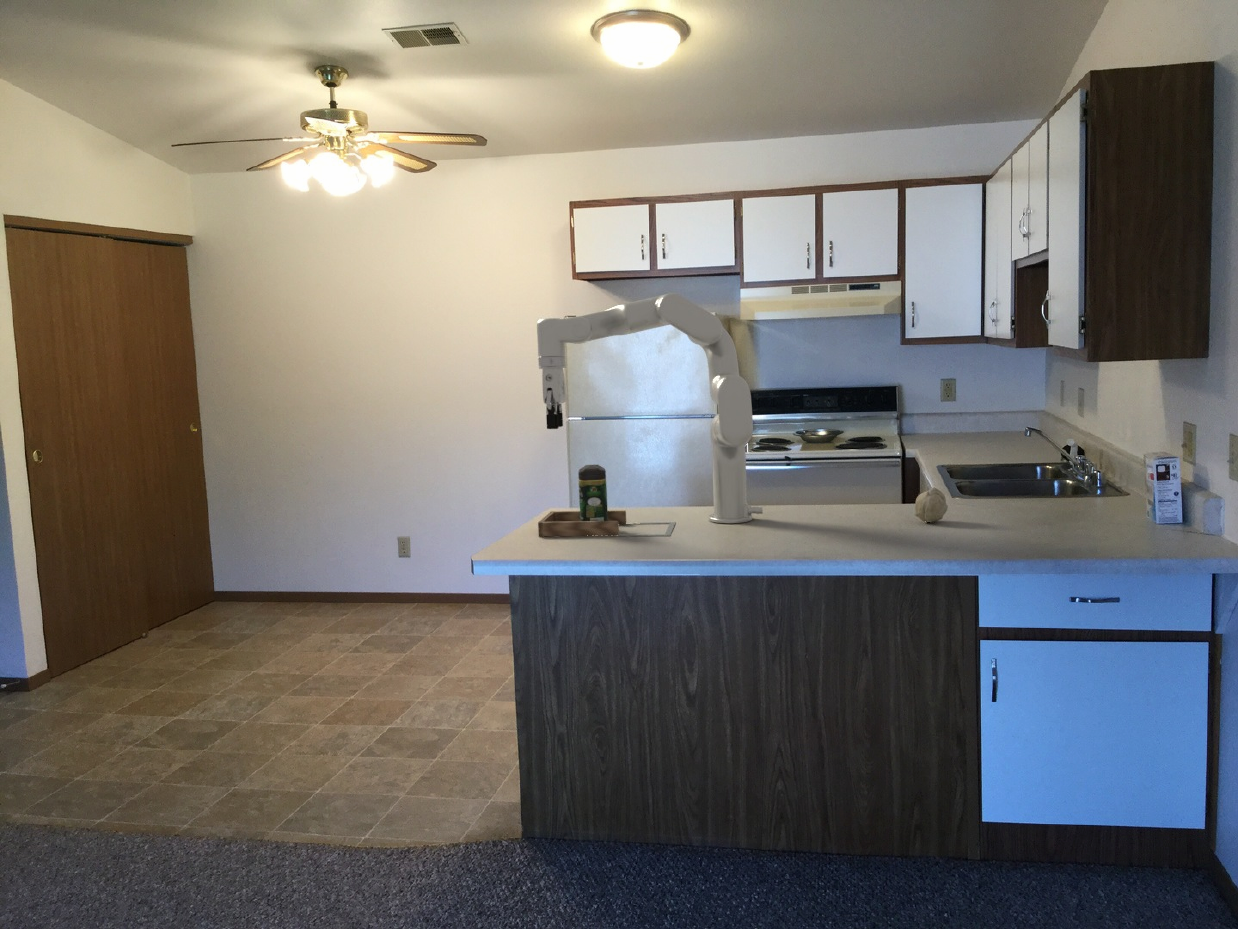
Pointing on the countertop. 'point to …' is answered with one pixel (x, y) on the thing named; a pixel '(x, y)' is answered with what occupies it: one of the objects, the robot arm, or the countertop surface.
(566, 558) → the countertop surface
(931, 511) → the garlic bulb
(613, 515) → the wooden u-shaped frame
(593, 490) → the coffee jar
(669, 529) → the grey bay
